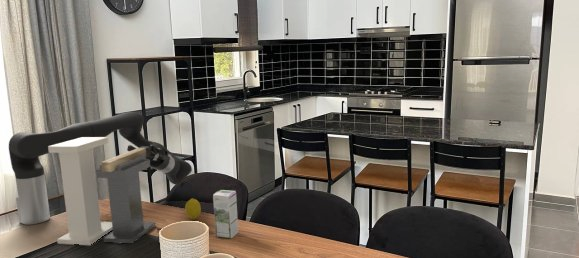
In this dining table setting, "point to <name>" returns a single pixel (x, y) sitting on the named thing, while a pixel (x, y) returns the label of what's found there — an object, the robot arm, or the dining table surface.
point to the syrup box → (225, 213)
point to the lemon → (193, 208)
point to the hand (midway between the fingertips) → (139, 147)
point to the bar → (124, 158)
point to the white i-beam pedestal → (81, 190)
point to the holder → (126, 201)
